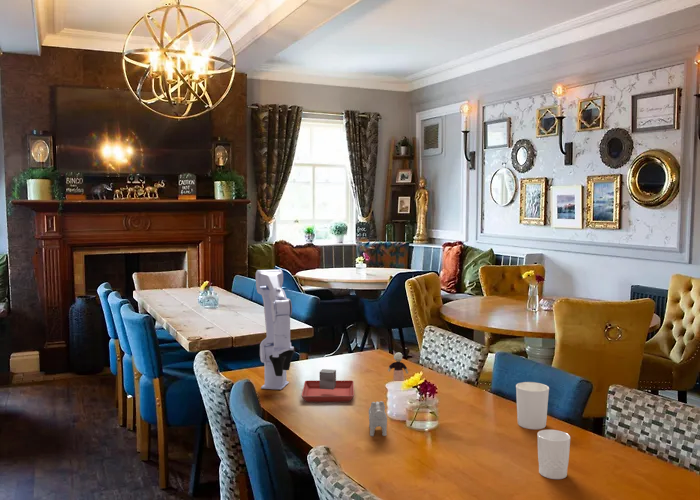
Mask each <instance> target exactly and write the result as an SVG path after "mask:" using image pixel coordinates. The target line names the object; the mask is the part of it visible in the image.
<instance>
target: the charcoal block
mask: <svg viewBox="0 0 700 500" xmlns="http://www.w3.org/2000/svg"><path fill="white" fill-rule="evenodd" d="M319 381H320V389H331V390H333V389H334V388H335V387H336V381H337V369H327V368H326V369H325V368H323V369H321V370H320V371H319Z"/></svg>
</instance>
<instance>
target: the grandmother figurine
mask: <svg viewBox="0 0 700 500" xmlns="http://www.w3.org/2000/svg"><path fill="white" fill-rule="evenodd" d="M393 359H394V362H392V363H391V364H389V366H388V369H387V372H388V373H389V372H391V371H392V369H393V382H394V381H404V382H405V376H404V375H405V374H409V371H408V367H407V366H406V364H405V363H404V362H402V360H403V354H402V353H401V352H396V353H394V355H393ZM404 372H405V374H404Z"/></svg>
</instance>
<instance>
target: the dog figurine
mask: <svg viewBox="0 0 700 500" xmlns="http://www.w3.org/2000/svg"><path fill="white" fill-rule="evenodd" d="M385 410H386V405H385V403H384V401H382V400H380V401H376V402H375V401H372V402H371V404H370V407H369V408H368V422H369V424H368V426H369V427H368V428H369V436H370V437H374V436H375V432H376V431H375V430H376V428H377V427H380V428H381V432H382V433H381V434H382V436H383V437H385V436H386V437H387V435H388V434H387V432H388V431H387V428H388V427H387V426H388V416H387V413H386V411H385Z"/></svg>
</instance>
